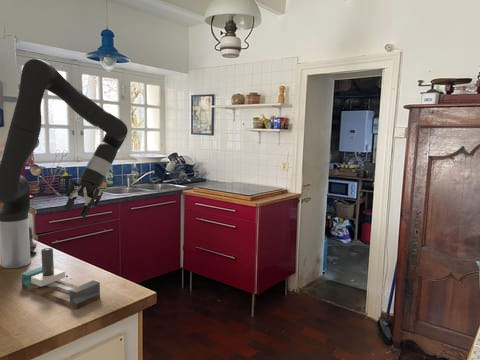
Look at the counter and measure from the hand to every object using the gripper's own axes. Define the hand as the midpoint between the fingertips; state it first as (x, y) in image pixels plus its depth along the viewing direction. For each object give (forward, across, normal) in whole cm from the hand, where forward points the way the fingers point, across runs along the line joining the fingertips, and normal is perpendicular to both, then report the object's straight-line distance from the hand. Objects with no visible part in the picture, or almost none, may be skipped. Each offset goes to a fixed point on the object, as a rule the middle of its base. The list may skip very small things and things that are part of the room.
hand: (74, 213), depth 125 cm
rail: (+24, +13, -1) cm, 27 cm away
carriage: (+22, +7, -2) cm, 23 cm away
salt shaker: (+22, -30, +14) cm, 39 cm away
